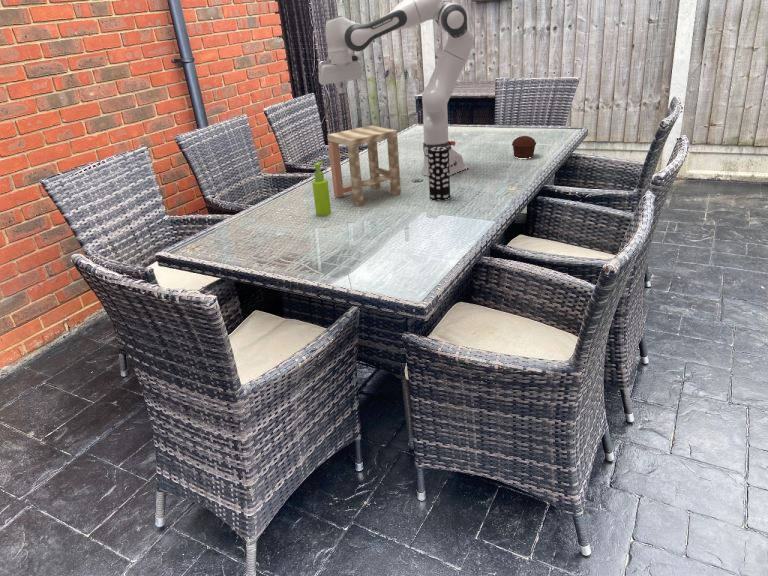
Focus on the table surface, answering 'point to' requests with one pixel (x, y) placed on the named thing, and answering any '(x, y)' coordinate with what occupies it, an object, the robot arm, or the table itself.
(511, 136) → the table surface
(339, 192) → the hinged leg
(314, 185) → the soap dispenser
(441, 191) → the spotted tube
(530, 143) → the muffin
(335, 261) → the table surface
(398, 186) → the stool
